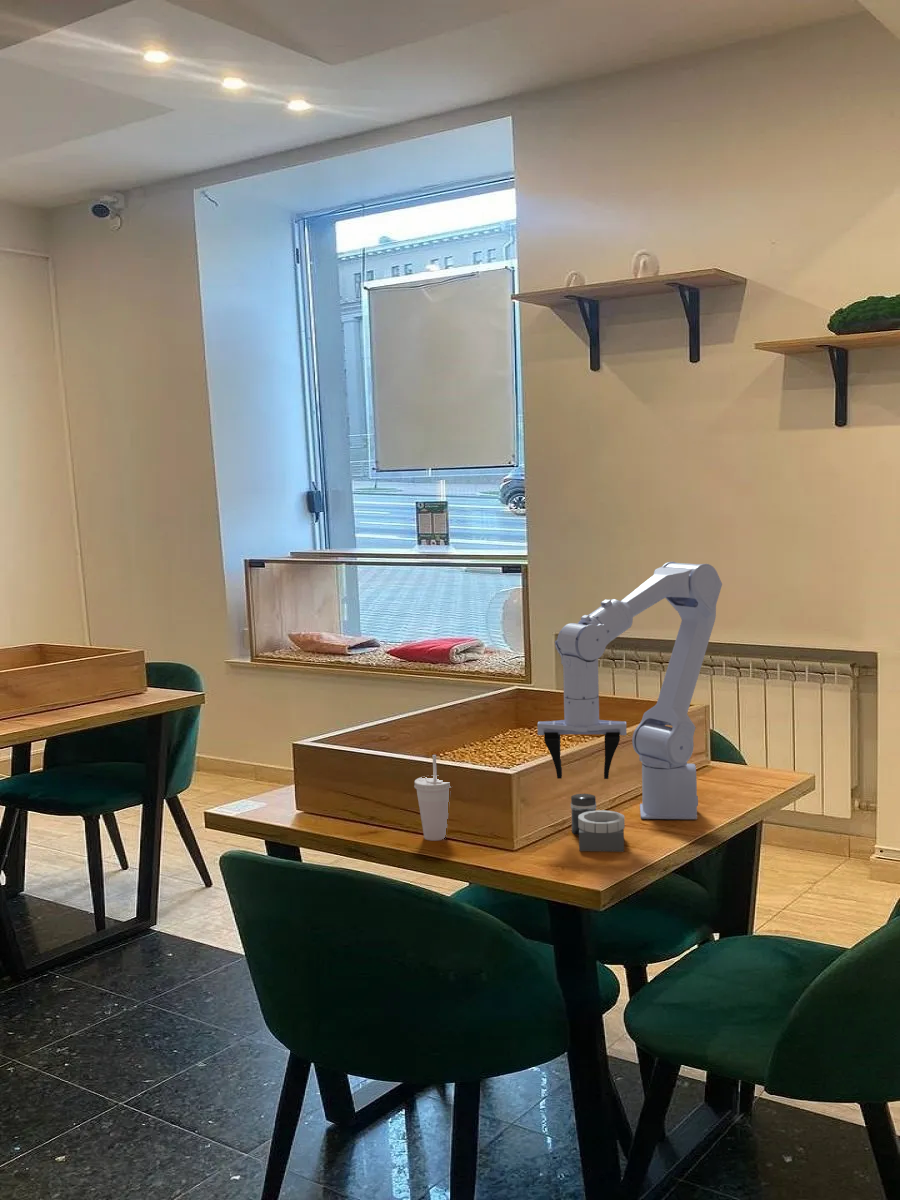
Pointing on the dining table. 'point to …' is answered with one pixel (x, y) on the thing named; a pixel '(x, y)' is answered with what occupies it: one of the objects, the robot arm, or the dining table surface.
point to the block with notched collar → (601, 831)
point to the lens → (581, 808)
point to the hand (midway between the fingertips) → (582, 777)
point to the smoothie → (433, 805)
